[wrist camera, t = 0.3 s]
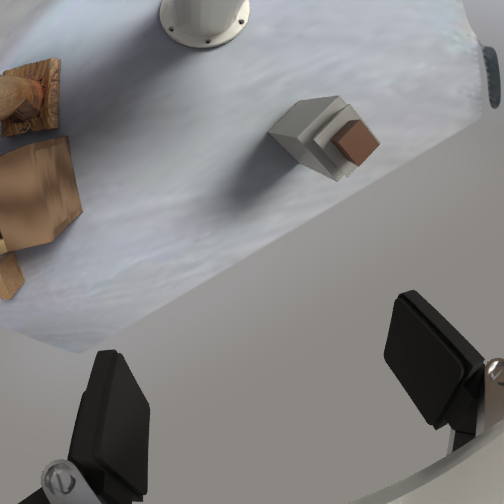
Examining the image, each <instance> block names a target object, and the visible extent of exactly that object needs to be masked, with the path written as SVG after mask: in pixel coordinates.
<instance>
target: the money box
mask: <svg viewBox="0 0 504 504" xmlns="http://www.w3.org/2000/svg"><path fill="white" fill-rule="evenodd" d="M82 212H83V211H82V207H81V203H80V199H79V194H78V190H77V185H76V180H75V176H74V170H73V165H72V160H71V154H70V148H69V142H68V136H65V137H60V138H55V139H50V140H46V141H41V142H37V143H32V144H28V145H25V146H23V147H20V148H18V149H15V150H13V151H11V152H8V153H6V154H4V155H1V156H0V254H2V253H6V252H11V251H15V250H19V249H23V248H28V247H32V246H36V245H41V244H46V243H50V242H52V241H53V240H54V239H55V238H56V237H57V236H58V235H59V234H60V233H61V232H62V231H63V230H64V229H65V228H66V227H67V226H68V225H69V224H70V223H71V222H72V221H73V220H74V219H75V218H76V217H78V216H79V215H80V214H81V213H82Z"/></svg>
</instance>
